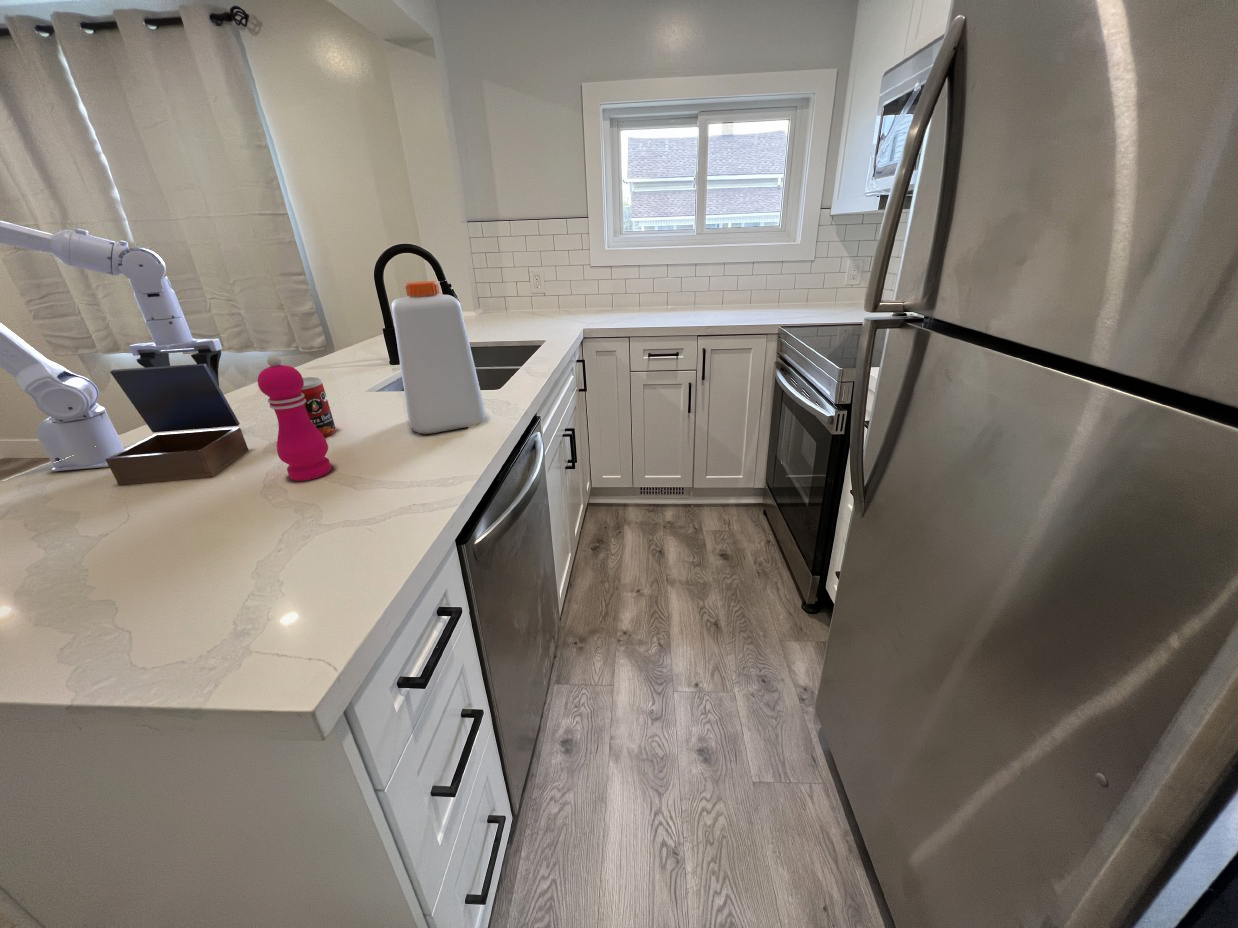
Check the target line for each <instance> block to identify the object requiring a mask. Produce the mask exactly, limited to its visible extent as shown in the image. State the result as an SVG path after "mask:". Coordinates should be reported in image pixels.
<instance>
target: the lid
mask: <svg viewBox="0 0 1238 928" xmlns="http://www.w3.org/2000/svg"><path fill="white" fill-rule="evenodd" d="M109 373H110V374H111V376H112V377H113V379H114V380H115V382H116V383H117V384H118V385H119V387H120V389H121V390H122V391H123V393H124V394H125V396H126V397H127V398H128V400H129V401H130V402H131V404H132V405H133V407H134V409H135V410H136V411H137V412H138V414H139V416H140V417H141V419H142V420H143V421H144V423H145V424H146V425H147V427H148V428H149V429H150V431H151V432H152V433H153V434H156V433H169V432H182V431H194V430H207V429H220V428H232V427H239V426H240V421H239V419H238V417H237V416H236V414H235V412H234V411H233V409H232V407H231V405H230V404H229V402H228V400H227V398H226V397H225V395H224V393H223V391H222V389H221V388H220V385H219V386H218V384H217V382H216V381H215V379H214V377H213V375H212V373H211V372H210V370H209V368H208V366H207V365H206V364H197V363H195V364H194V363H193V364H181V365H179V364H178V365H170V366H162V367H147V368H144V367H133V368H118V369H111V370H110V371H109Z"/></svg>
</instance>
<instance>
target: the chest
mask: <svg viewBox="0 0 1238 928" xmlns="http://www.w3.org/2000/svg"><path fill="white" fill-rule="evenodd" d="M248 447H249V446H248V445H247V442H246V440H245V437H244V434H243V431H242V429H241V427H239V426H237V427H224V428H211V429H199V430H186V431H174V432H161V433H153V434H152V435H150V436H148V437H146V438H144V439H143V440H140V441H138V442H137V443H135V444H132V445H131V446H129V447H126V448H125V449H124V450H123V451H121V452H119V453H117V454H115V455H113V456H111V457H109V458H107V459H105V460H106V462H107V464H108V465H109V466H108V467H109V469H110V471H111V474H113V477H114V479H115V481H116V483H117V485H118V486H125V485H126V486H127V485H137V484H148V483H158V482H159V483H160V482H170V481H181V480H183V481H184V480H193V479H204V478H213V477H215V476H216V475H218V474H219V473H220V472H221V471H223V470H224V469H226V468H227V467H228V466H230V465H231V464H233V463H234V462H235V461H237V460H238V459H240V458H241V457H242V456H244V455H245V454H247V453H248V452H249V451H250V449H249V448H248Z"/></svg>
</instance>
